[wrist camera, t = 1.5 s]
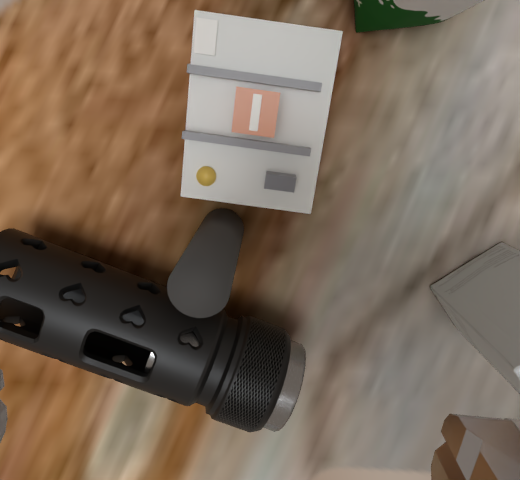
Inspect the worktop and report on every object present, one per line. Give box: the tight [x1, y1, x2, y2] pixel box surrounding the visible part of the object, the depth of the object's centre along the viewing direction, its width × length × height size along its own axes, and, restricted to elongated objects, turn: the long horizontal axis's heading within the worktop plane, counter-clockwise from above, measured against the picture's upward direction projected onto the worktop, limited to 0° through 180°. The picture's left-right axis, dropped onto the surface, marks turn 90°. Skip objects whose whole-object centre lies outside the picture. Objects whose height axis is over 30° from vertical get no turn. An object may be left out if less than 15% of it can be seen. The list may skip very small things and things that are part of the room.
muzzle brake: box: [0, 229, 306, 432], centre depth 37 cm, size 10×28×10 cm, turn 67°
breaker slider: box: [231, 86, 280, 138], centre depth 30 cm, size 3×3×4 cm
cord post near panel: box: [167, 208, 244, 318], centre depth 33 cm, size 4×4×14 cm
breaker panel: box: [181, 10, 343, 214], centre depth 34 cm, size 11×14×6 cm
